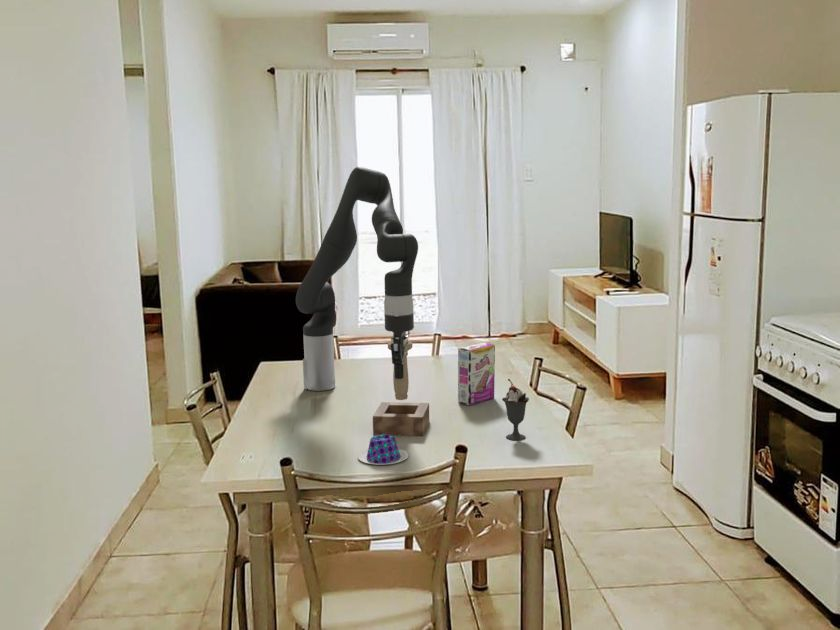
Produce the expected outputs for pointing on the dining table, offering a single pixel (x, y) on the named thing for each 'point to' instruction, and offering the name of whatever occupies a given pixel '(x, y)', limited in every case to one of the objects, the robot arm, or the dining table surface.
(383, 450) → the pudding
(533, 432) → the dining table surface
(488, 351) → the candy bar box
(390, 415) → the collar block
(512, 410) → the sundae
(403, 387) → the handle
